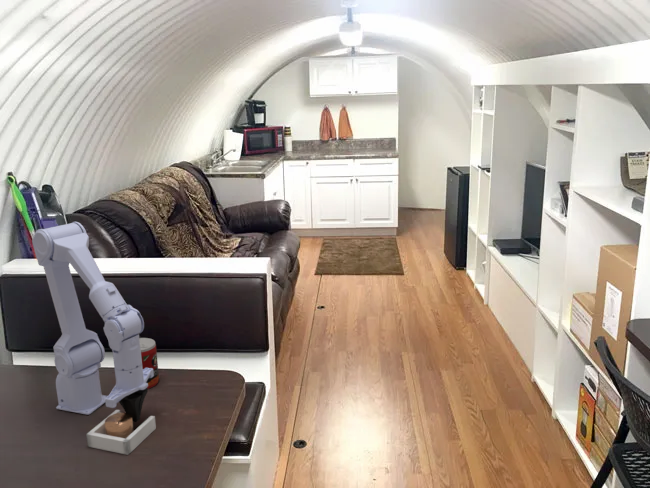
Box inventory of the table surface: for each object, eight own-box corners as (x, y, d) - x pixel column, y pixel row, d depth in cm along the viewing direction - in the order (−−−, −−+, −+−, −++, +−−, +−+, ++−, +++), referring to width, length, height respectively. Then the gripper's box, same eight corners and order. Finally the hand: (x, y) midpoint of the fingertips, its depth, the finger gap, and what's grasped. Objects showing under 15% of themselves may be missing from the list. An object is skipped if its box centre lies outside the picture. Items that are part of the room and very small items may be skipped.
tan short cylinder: (101, 442, 122) (99, 426, 121) (114, 427, 127) (112, 411, 126) (126, 444, 121) (124, 427, 120) (138, 429, 126) (136, 413, 125)
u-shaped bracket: (87, 446, 120) (86, 434, 119) (118, 421, 129) (116, 409, 129) (128, 454, 117) (126, 442, 117) (155, 428, 126) (154, 416, 126)
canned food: (150, 391, 142) (146, 351, 139) (121, 389, 144) (116, 349, 141) (164, 377, 149) (161, 338, 147) (137, 374, 151) (132, 336, 148)
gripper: (122, 382, 116) (129, 441, 119) (163, 352, 129) (168, 405, 132) (94, 378, 118) (101, 435, 121) (136, 348, 131) (142, 401, 135)
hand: (134, 419), depth 127 cm, fingers closed
